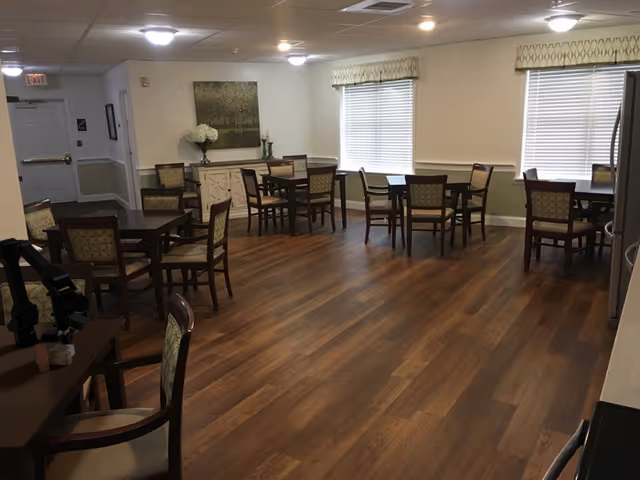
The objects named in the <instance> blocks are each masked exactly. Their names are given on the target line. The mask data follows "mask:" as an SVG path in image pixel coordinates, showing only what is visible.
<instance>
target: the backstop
mask: <svg viewBox="0 0 640 480" xmlns="http://www.w3.org/2000/svg"><path fill="white" fill-rule="evenodd" d="M47 356H48V362H49V365H58V366H70V365H72V363H73V356H72V357H71V351H49V350H47ZM34 357H35V363H36V364H37V365H38V360H37V354H36V351H35V352H34Z"/></svg>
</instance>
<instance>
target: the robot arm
mask: <svg viewBox="0 0 640 480" xmlns="http://www.w3.org/2000/svg"><path fill="white" fill-rule="evenodd" d="M21 258H22V259H23V260H24V261H25V262H26V263H27V264H29V266H30V267H31V268H32V269H33V270H34V271H35V272H36V273H37V274H38V276H40V282H41V284H42V286H44V288H45V290H47V293H45V296H46V297H49V298H50V302H51V308H52V312H51V313H50V317H53V319H54V323H52V327H53V328H56V329H47V330H46V331H44V332H43V333H42V334H41V335H40V336H39V337H40V338H38V337H37V336H38V335H37V331H36V329H35V326H37V325H38V324H39V319H40V312H39V310H38V305H37V303H33V302H32V301H30V299H29V295H28V292H27V289H26V284H25V280H24V277H23V274H22V273H23V272H22V269H21V265H20V260H21ZM0 264H1V265H2V267H3V271H4V273H5V278H6V281H7V282H6V283H7V284H8V288H9V292H10V295H11V299H12V307H11V310H10V320H9V322H8V323H7V325H6V328H7V330H8V332H11V333H13V336H14V337H13V338H14V341H15V343H13V344H12V347H15V348H29V347H31V346H33V345H34V344H35V343H37V342H39V341H41V343H55V344H56V343H59V342H61V344H67V345H73V339H74V335H75V334H76V333H77V332H78V331H80V332H81V331H83V330H84V329H85V328H87V327H88V326H89V322H90V321H91V320H92V318H91V312H90V311H89V310H87V309H88V308H89V305H90V301H89V298H88V297H87V296H86V295H84V294H83V292H82V291H78V290H79V288H78V287H77V284H76V283H75V282H74V281H73V280H72V278H71V276H70V275H69V274H68V273H67V272H66V271H65V270H63V269H62V268H60V267H57V266H55V265H52V263H50V262H49V260H47V258H45V256H44V255H43V254H42V253H40V251H38V250H37V248H35V247H34V246H33V243H32V242H31V240H29V239H16V238H15V237H10V238H5V239H2V240H0ZM77 330H78V331H77ZM76 331H77V332H76ZM75 332H76V333H75Z"/></svg>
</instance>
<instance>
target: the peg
mask: <svg viewBox="0 0 640 480" xmlns="http://www.w3.org/2000/svg"><path fill="white" fill-rule="evenodd" d="M34 349H35V352H36V354H37V360H38V364H37V366H38V371H39V373H46V372H49V371H50V369H51V368H50V364H49V362H48V356H47V351H48V350H47V346H46V342H41V343H36V344H35V345H34Z"/></svg>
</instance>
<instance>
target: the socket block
mask: <svg viewBox="0 0 640 480" xmlns="http://www.w3.org/2000/svg"><path fill="white" fill-rule="evenodd" d="M48 351H71V357H72V358H73V356H75V355H76V351H75V345H74V344H72V345H67V344H63V343H61V344H60V343H57V344H55V345H54V346H53V347H52V348H50V349H49V350H48Z"/></svg>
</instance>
